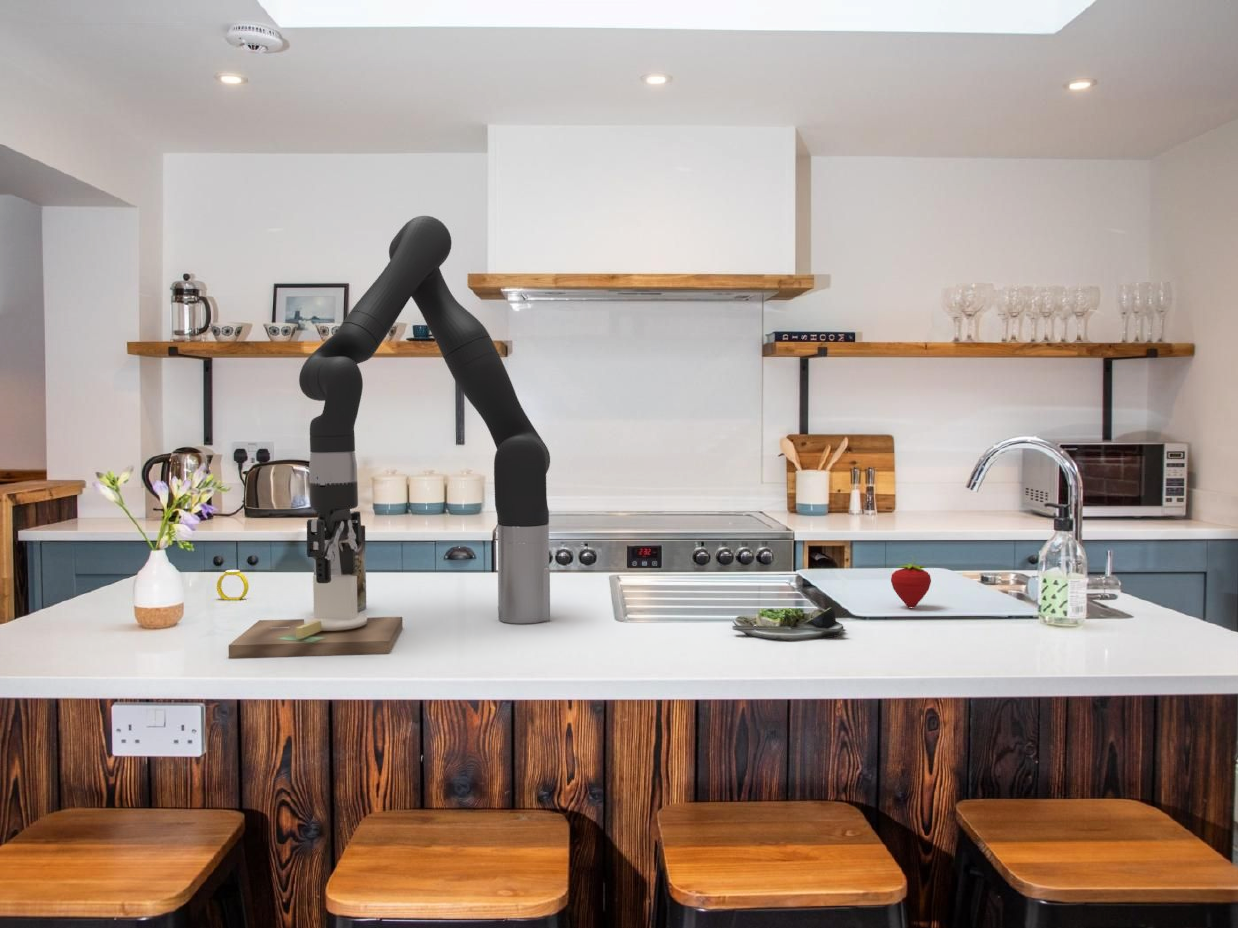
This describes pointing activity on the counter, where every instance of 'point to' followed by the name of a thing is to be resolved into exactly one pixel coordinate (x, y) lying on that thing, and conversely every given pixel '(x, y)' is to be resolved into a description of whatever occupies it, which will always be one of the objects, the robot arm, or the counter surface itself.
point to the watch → (237, 572)
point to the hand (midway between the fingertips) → (336, 578)
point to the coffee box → (359, 568)
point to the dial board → (316, 639)
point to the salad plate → (790, 624)
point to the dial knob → (333, 607)
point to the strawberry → (911, 583)
